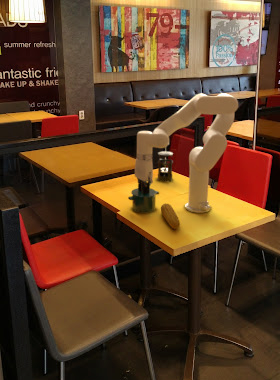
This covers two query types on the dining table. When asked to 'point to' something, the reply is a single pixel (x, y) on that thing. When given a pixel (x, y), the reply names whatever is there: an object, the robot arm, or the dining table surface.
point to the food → (170, 215)
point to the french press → (165, 173)
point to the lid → (141, 193)
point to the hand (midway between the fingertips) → (143, 191)
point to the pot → (143, 203)
